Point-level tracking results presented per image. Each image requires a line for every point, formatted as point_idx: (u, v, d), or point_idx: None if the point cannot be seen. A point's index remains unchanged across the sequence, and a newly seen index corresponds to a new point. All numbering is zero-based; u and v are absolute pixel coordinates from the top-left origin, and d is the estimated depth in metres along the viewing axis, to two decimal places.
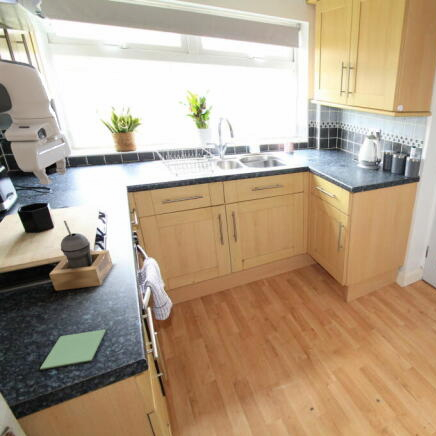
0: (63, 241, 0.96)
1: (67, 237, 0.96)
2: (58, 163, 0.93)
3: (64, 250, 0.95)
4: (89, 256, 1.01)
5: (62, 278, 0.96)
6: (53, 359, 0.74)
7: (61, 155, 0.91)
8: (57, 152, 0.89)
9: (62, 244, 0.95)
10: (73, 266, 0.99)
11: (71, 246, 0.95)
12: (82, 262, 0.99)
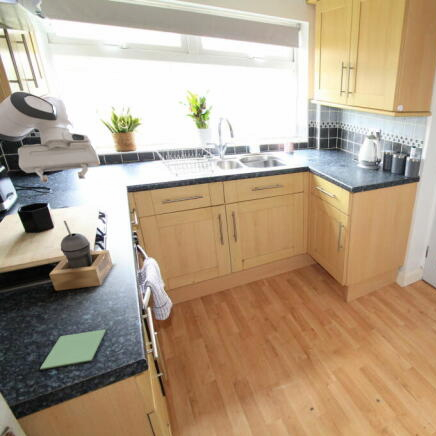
0: (63, 241, 0.96)
1: (67, 237, 0.96)
2: (40, 172, 0.99)
3: (64, 250, 0.95)
4: (89, 256, 1.01)
5: (62, 278, 0.96)
6: (53, 359, 0.74)
7: None
8: None
9: (62, 244, 0.95)
10: (73, 266, 0.99)
11: (71, 246, 0.95)
12: (82, 262, 0.99)
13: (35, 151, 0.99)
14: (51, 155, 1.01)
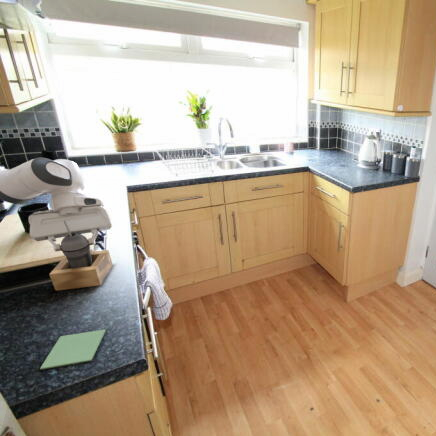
0: (63, 241, 0.96)
1: (67, 237, 0.96)
2: (53, 241, 0.96)
3: (64, 250, 0.95)
4: (89, 256, 1.01)
5: (62, 278, 0.96)
6: (53, 359, 0.74)
7: None
8: None
9: (62, 244, 0.95)
10: (73, 266, 0.99)
11: (71, 246, 0.95)
12: (82, 262, 0.99)
13: (46, 218, 0.97)
14: (62, 222, 0.98)
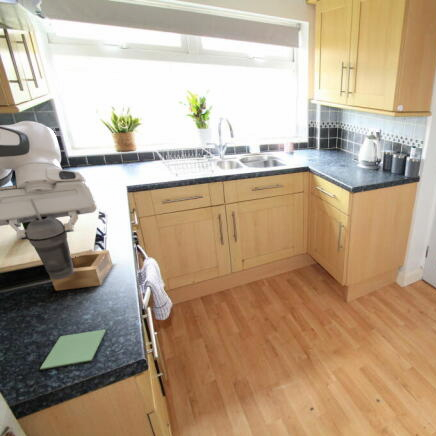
0: (29, 226, 0.71)
1: (35, 221, 0.72)
2: (16, 226, 0.72)
3: (30, 238, 0.71)
4: (66, 247, 0.77)
5: None
6: (53, 359, 0.74)
7: None
8: None
9: (28, 230, 0.71)
10: (44, 260, 0.74)
11: (39, 233, 0.71)
12: (56, 255, 0.75)
13: (7, 196, 0.73)
14: (30, 202, 0.74)
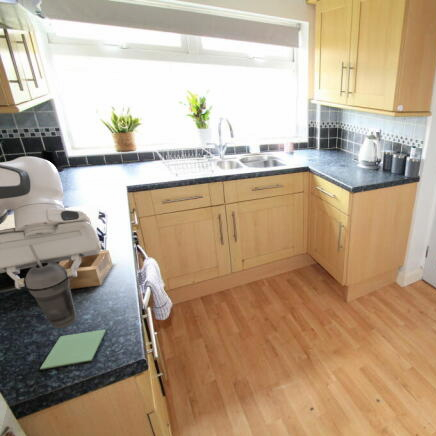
0: (28, 275, 0.66)
1: (34, 269, 0.66)
2: (14, 274, 0.66)
3: (30, 288, 0.66)
4: (68, 294, 0.71)
5: None
6: (53, 359, 0.74)
7: None
8: None
9: (27, 279, 0.65)
10: (45, 309, 0.69)
11: (40, 282, 0.65)
12: (58, 303, 0.69)
13: (5, 242, 0.67)
14: (29, 247, 0.68)
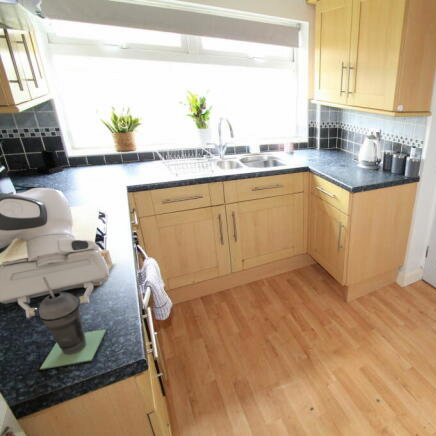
0: (42, 306, 0.69)
1: (48, 300, 0.69)
2: (25, 304, 0.69)
3: (43, 318, 0.69)
4: (79, 322, 0.74)
5: None
6: (53, 359, 0.74)
7: None
8: None
9: (40, 310, 0.69)
10: (57, 337, 0.72)
11: (53, 313, 0.69)
12: (69, 331, 0.72)
13: (19, 272, 0.70)
14: (41, 276, 0.71)
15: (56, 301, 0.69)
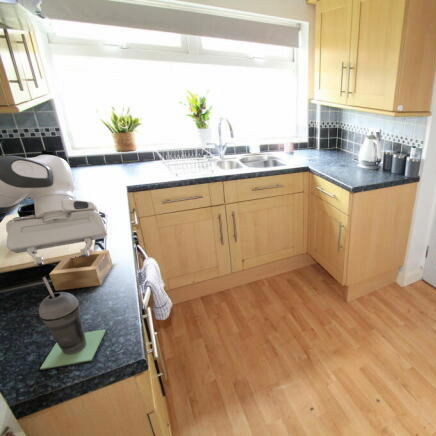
0: (42, 306, 0.69)
1: (48, 300, 0.69)
2: (33, 253, 0.80)
3: (43, 318, 0.69)
4: (79, 322, 0.74)
5: (62, 278, 0.96)
6: (53, 359, 0.74)
7: None
8: None
9: (40, 310, 0.69)
10: (56, 337, 0.72)
11: (53, 313, 0.69)
12: (69, 331, 0.72)
13: (28, 226, 0.80)
14: (47, 230, 0.81)
15: (56, 301, 0.69)
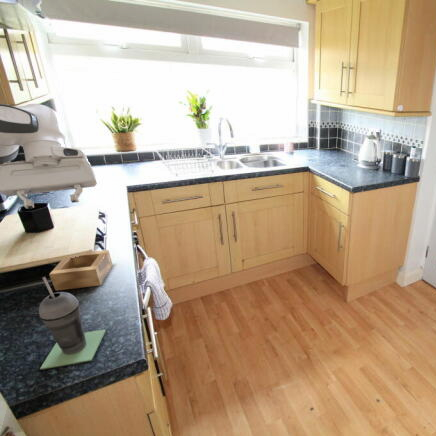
0: (42, 306, 0.69)
1: (47, 300, 0.69)
2: (23, 196, 0.81)
3: (43, 318, 0.69)
4: (79, 322, 0.74)
5: (62, 278, 0.96)
6: (53, 359, 0.74)
7: None
8: None
9: (40, 310, 0.69)
10: (56, 337, 0.72)
11: (53, 313, 0.69)
12: (69, 331, 0.72)
13: (17, 170, 0.82)
14: (37, 175, 0.83)
15: (56, 301, 0.69)
